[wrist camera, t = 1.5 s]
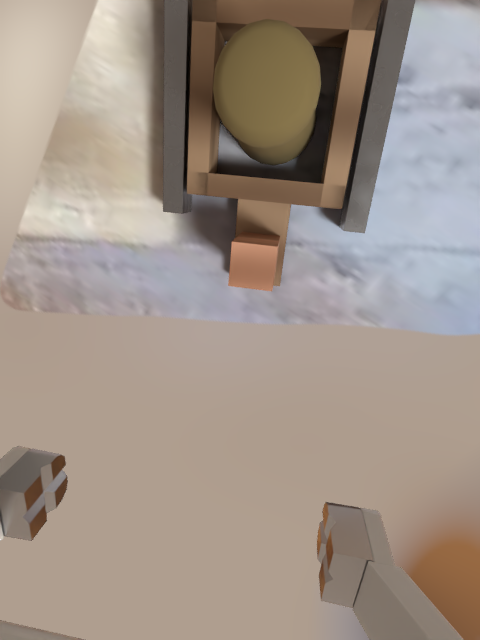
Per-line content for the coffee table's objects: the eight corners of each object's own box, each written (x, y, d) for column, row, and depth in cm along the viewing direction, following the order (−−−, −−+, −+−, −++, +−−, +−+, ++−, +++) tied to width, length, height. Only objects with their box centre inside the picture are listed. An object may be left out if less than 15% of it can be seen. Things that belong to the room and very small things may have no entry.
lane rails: (176, -7, 24) (164, -27, 21) (405, 4, 22) (418, -17, 20) (173, 209, 29) (163, 211, 27) (358, 228, 28) (364, 233, 25)
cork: (281, 182, 27) (276, 181, 17) (218, 131, 26) (172, 100, 16) (334, 107, 25) (364, 55, 15) (266, 50, 24) (248, -45, 14)
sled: (204, 12, 24) (176, -42, 18) (370, 21, 23) (397, -34, 17) (194, 271, 30) (171, 292, 25) (321, 287, 29) (329, 312, 24)
